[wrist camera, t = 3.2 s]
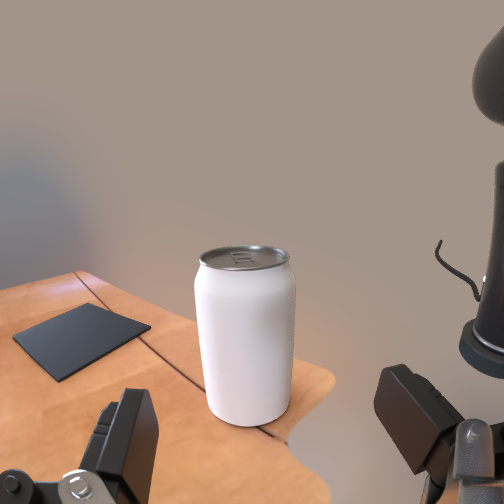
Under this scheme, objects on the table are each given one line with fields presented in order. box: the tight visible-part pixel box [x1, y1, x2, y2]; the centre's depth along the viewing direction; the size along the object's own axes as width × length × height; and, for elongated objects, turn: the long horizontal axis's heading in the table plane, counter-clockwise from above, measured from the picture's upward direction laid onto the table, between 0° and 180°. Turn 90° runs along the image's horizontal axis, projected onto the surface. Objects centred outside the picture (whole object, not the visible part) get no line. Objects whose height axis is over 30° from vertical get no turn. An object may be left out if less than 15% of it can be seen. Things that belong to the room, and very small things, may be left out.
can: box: [195, 245, 296, 427], centre depth 20 cm, size 6×6×12 cm
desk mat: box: [13, 303, 151, 382], centre depth 30 cm, size 14×14×1 cm
